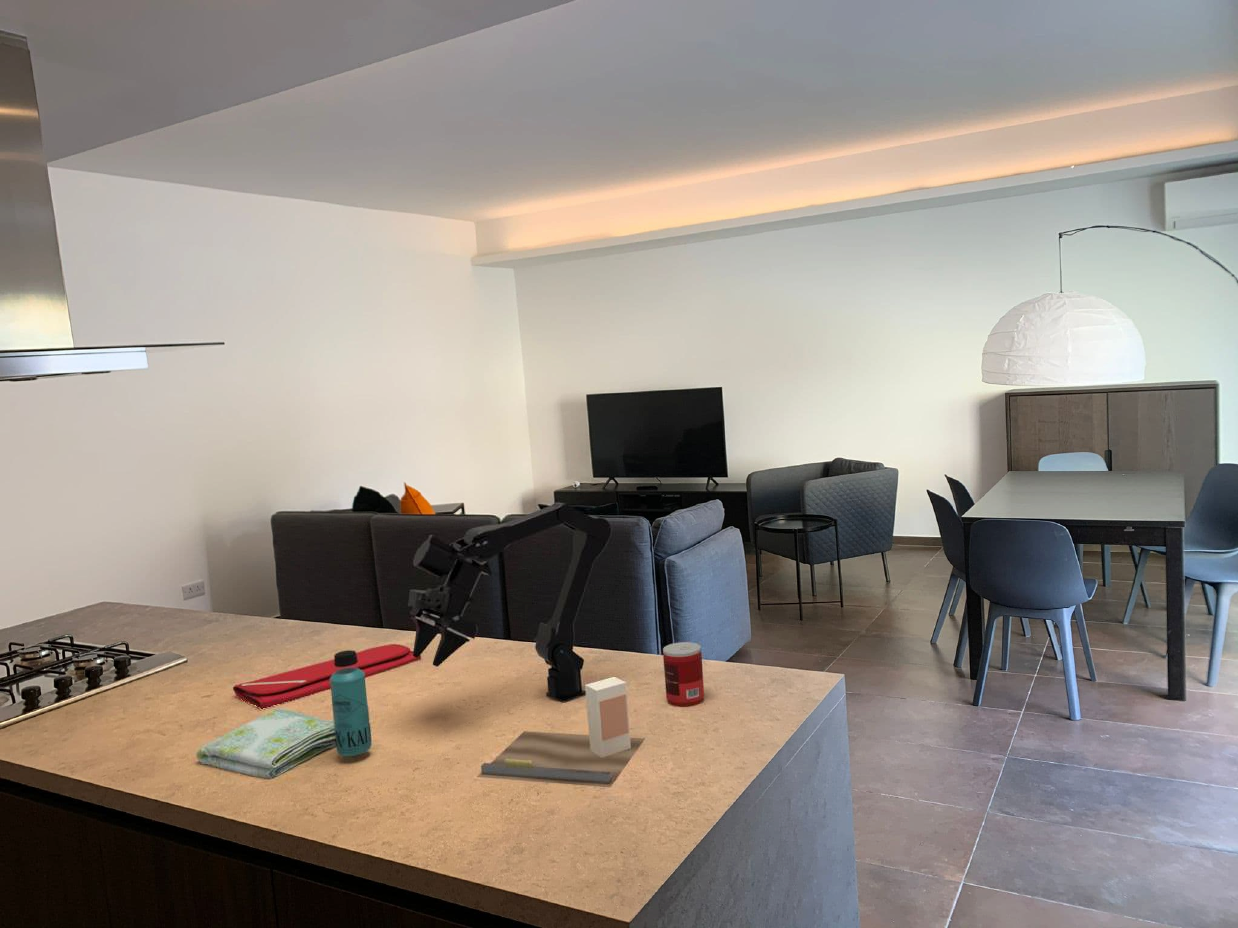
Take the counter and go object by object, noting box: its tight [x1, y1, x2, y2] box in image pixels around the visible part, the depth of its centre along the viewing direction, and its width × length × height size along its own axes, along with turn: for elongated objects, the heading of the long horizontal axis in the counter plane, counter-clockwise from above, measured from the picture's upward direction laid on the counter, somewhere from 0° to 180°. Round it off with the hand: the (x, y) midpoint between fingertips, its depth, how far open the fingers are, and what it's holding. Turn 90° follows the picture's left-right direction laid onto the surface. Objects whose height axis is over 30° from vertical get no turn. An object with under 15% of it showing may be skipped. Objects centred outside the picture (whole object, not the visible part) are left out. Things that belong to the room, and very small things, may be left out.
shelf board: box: [476, 730, 646, 788], centre depth 157 cm, size 20×24×1 cm
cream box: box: [584, 676, 631, 758], centre depth 158 cm, size 4×6×12 cm
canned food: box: [662, 641, 705, 708], centre depth 183 cm, size 8×8×11 cm
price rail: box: [480, 759, 612, 784], centre depth 150 cm, size 2×23×2 cm, turn 72°
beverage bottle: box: [330, 650, 373, 757], centre depth 166 cm, size 6×7×20 cm
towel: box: [195, 708, 336, 779], centre depth 172 cm, size 18×21×5 cm
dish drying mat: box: [232, 643, 422, 709], centre depth 216 cm, size 16×41×4 cm, turn 136°
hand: (424, 661), depth 174 cm, fingers open, 9 cm apart
